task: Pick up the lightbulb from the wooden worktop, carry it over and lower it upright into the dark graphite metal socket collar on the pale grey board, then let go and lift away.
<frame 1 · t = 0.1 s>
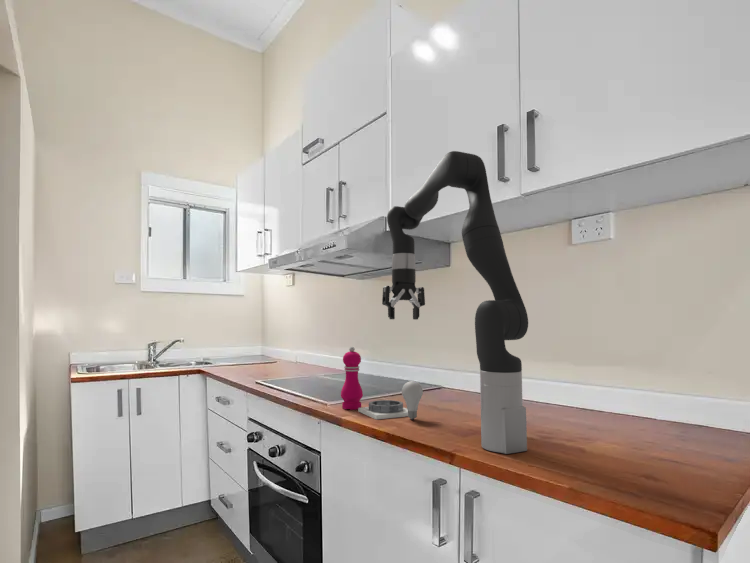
hand: (404, 319, 147), 29 cm above the worktop, fingers open, 8 cm apart
pepper mill: (351, 408, 152), on the worktop
socket board: (386, 413, 143), on the worktop
socket collar: (385, 406, 143), on the socket board, point 2 cm above the worktop
lightbulb: (412, 420, 135), on the worktop
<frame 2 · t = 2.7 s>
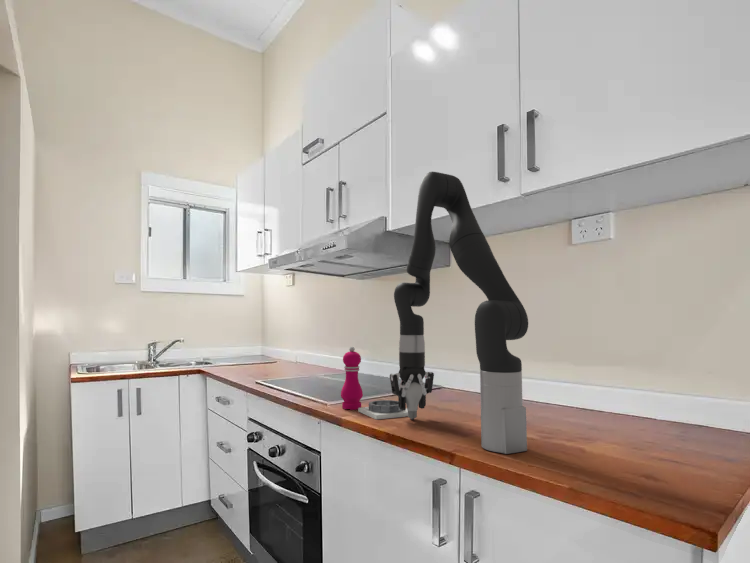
hand: (412, 408, 135), 3 cm above the worktop, fingers closed on lightbulb, 5 cm apart
lightbulb: (412, 420, 135), on the worktop, touching gripper
everything else where it was.
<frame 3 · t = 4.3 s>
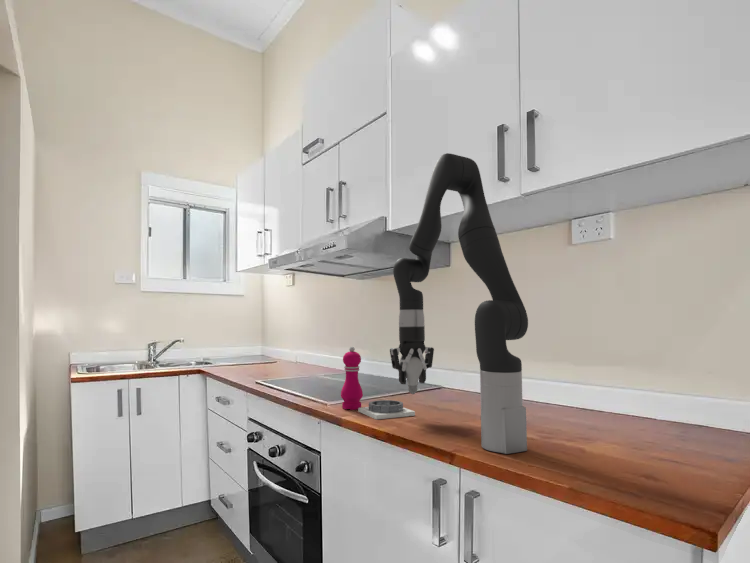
hand: (412, 383, 135), 10 cm above the worktop, fingers closed on lightbulb, 5 cm apart
lightbulb: (412, 394, 135), point 7 cm above the worktop, touching gripper
everything else where it was.
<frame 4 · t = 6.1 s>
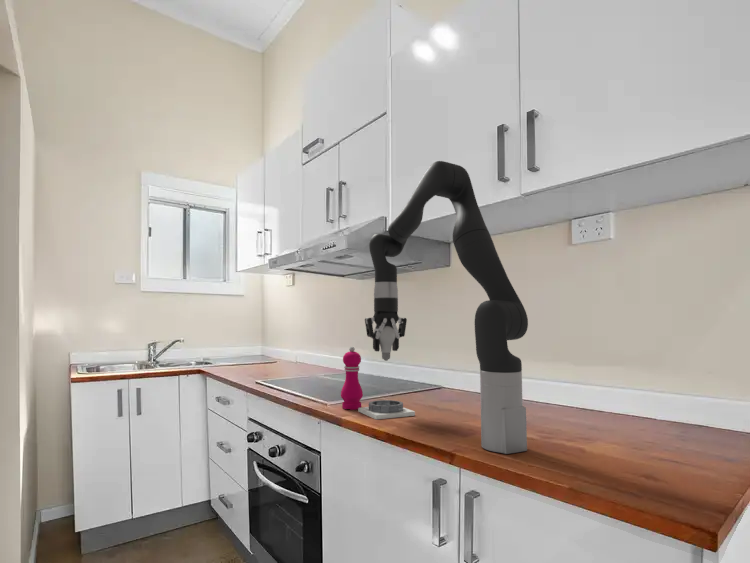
hand: (386, 350, 145), 19 cm above the worktop, fingers closed on lightbulb, 5 cm apart
lightbulb: (386, 361, 145), point 16 cm above the worktop, touching gripper
everything else where it was.
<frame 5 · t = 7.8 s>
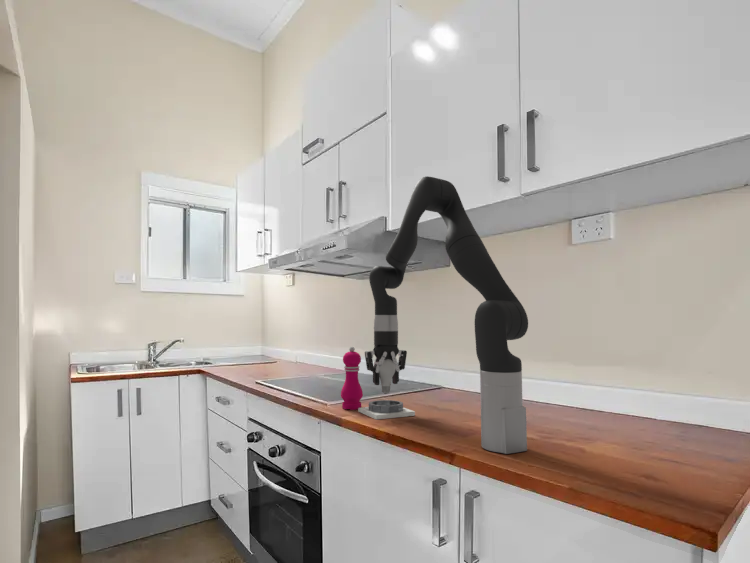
hand: (386, 384, 144), 9 cm above the worktop, fingers closed on lightbulb, 5 cm apart
lightbulb: (386, 394, 144), point 6 cm above the worktop, touching gripper
everything else where it was.
when the fingers open (6 cm above the worktop, at t = 9.1 s): lightbulb drops 1 cm, resting on socket board.
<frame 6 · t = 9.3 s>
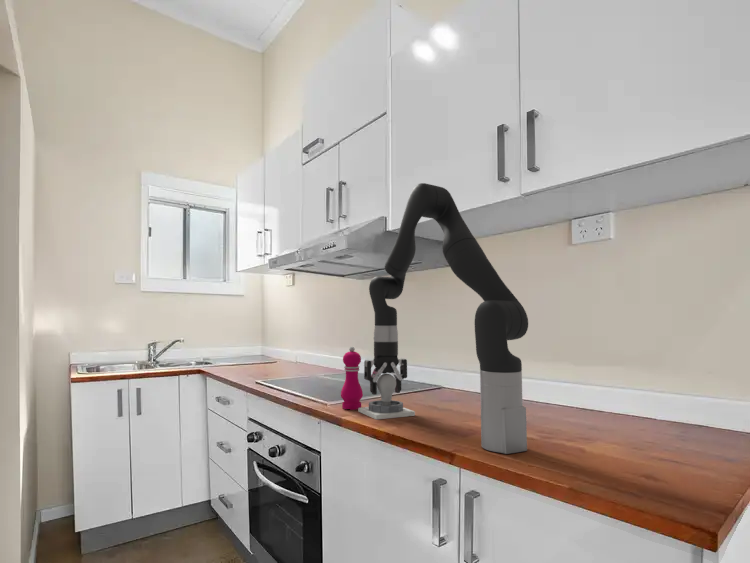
hand: (386, 393, 144), 6 cm above the worktop, fingers open, 7 cm apart
lightbulb: (386, 410, 143), point 1 cm above the worktop, touching socket board
everything else where it was.
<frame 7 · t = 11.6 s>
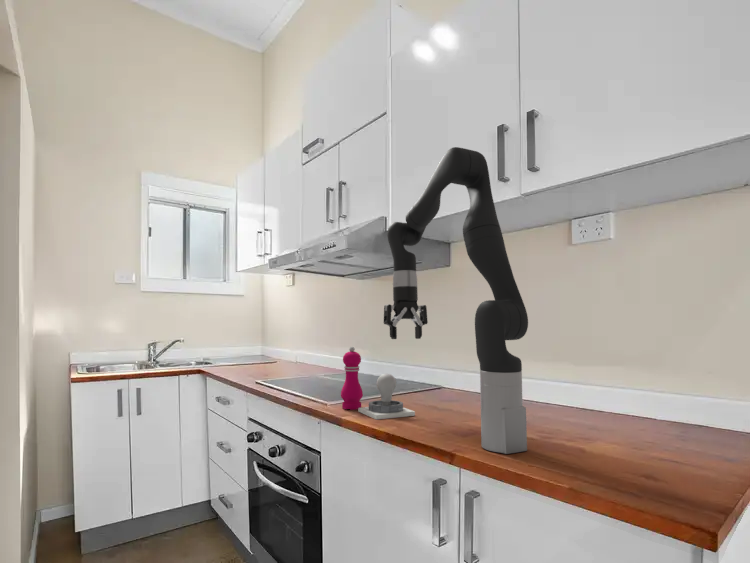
hand: (406, 338, 142), 23 cm above the worktop, fingers open, 8 cm apart
nothing on the worktop moved.
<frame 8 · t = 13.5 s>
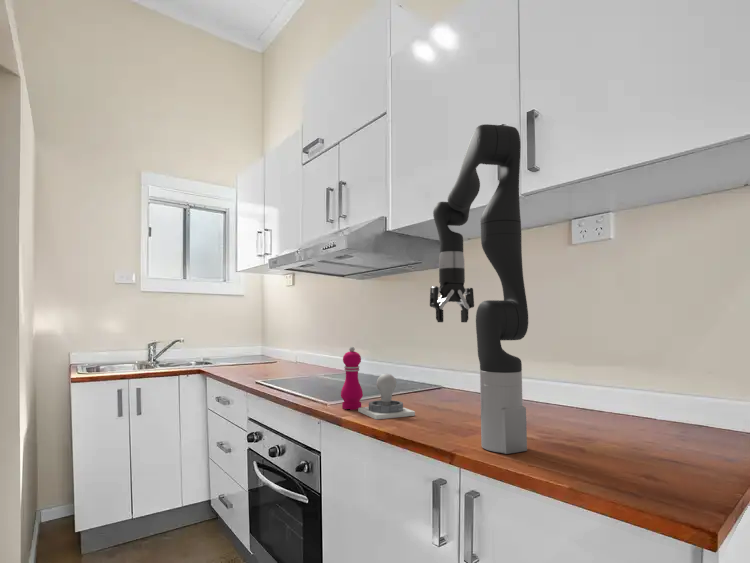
hand: (452, 322, 137), 28 cm above the worktop, fingers open, 8 cm apart
nothing on the worktop moved.
at the end: lightbulb 0.1 cm off-centre on the socket collar, point 1.0 cm above the socket collar's base; lightbulb tilted 0°; the gripper is holding nothing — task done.
